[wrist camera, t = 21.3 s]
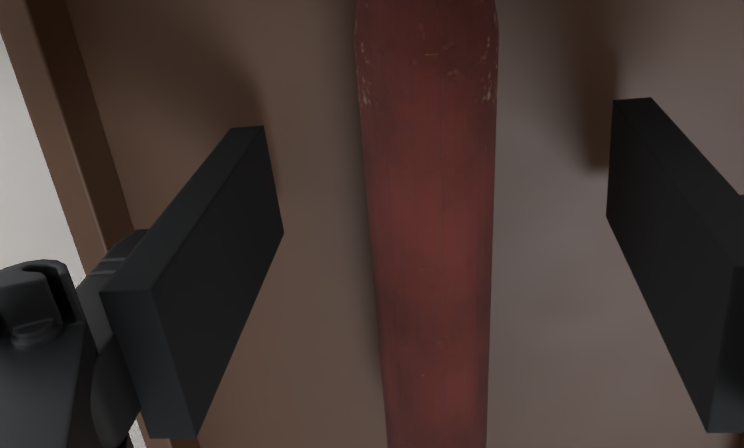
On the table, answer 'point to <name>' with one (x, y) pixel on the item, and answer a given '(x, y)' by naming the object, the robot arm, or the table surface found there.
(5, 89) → the table surface
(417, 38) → the gavel
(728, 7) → the tray
